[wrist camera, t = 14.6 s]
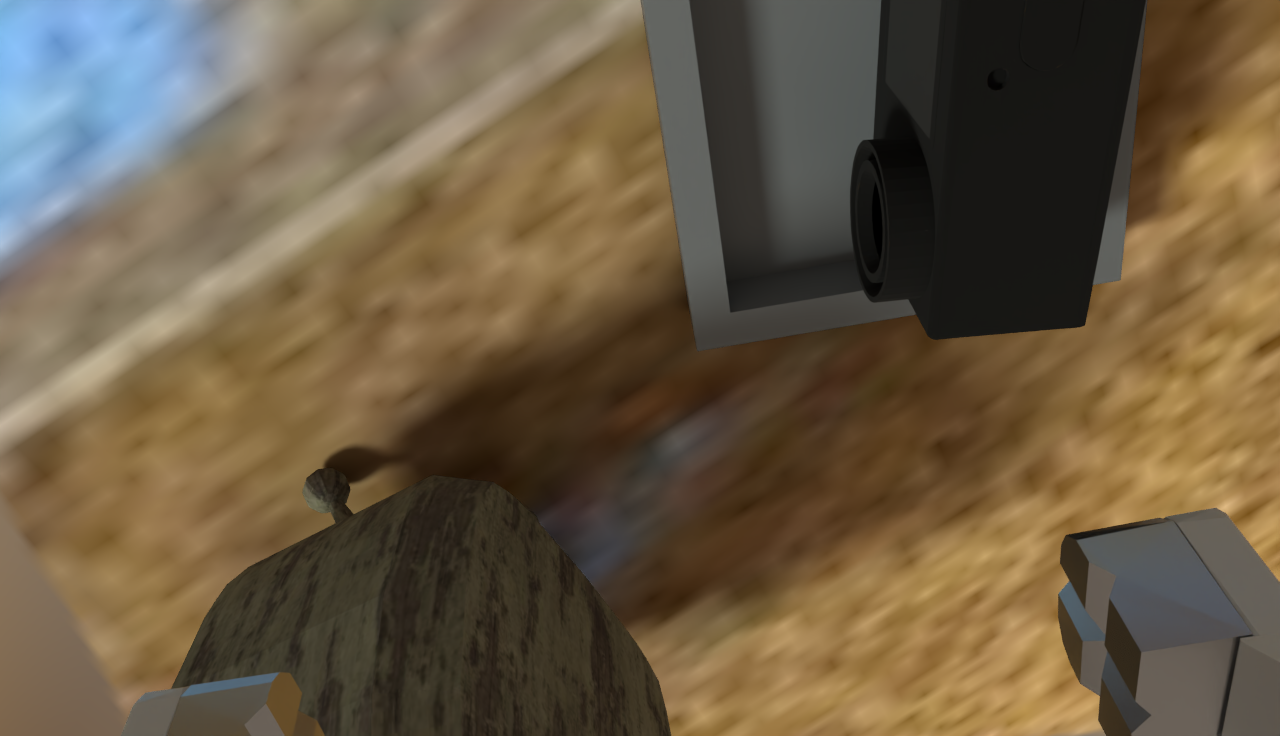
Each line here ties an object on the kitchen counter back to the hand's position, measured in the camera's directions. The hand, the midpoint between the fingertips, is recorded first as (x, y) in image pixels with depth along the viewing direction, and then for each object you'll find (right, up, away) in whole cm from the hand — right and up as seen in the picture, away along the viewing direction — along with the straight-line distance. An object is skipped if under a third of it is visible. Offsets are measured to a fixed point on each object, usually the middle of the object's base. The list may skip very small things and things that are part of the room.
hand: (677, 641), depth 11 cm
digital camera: (+8, +12, +21) cm, 25 cm away
